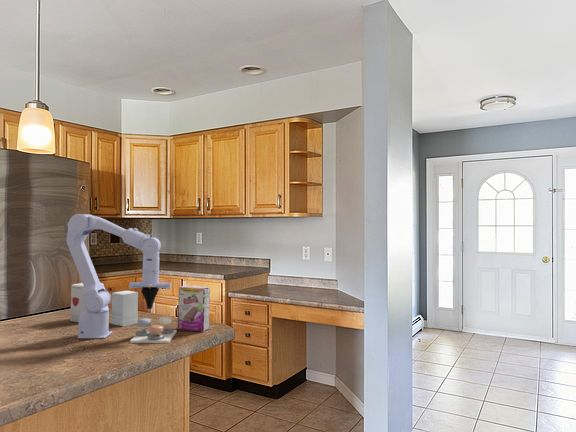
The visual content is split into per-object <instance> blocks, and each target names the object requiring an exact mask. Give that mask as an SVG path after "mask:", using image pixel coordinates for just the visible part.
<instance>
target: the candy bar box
mask: <svg viewBox="0 0 576 432" xmlns="http://www.w3.org/2000/svg"><path fill="white" fill-rule="evenodd" d="M210 294H211V287H210V286H209V287H208V286H198V285H188V284H187V285H182V286H179V287H178V307H177V308H178V312H177V313H178V316H177V330H184V331H193V332H194V331H195V332H202V333H203V332H206V331H208V330H210V304H211V303H210V301H211V300H210V299H211V298H210Z"/></svg>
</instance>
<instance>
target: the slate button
mask: <svg viewBox="0 0 576 432" xmlns="http://www.w3.org/2000/svg"><path fill="white" fill-rule="evenodd" d="M151 324H152V319H151V318H146V317H145V318H138V320H137V323H136V325H137V327H138V328H145V327H146V328H147V327H150V326H152V325H151Z"/></svg>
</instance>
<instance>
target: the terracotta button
mask: <svg viewBox="0 0 576 432" xmlns="http://www.w3.org/2000/svg"><path fill="white" fill-rule="evenodd" d="M148 327H149V329H148V330H149V333H150V334H160V333H163V328H164V325H160V324H152V325H150V326H148Z"/></svg>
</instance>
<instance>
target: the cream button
mask: <svg viewBox="0 0 576 432" xmlns="http://www.w3.org/2000/svg"><path fill="white" fill-rule="evenodd" d="M158 320H159V321H158V323H159V324H158V325H162V326H169V325H172V324H173V316H160V317H159V318H158Z"/></svg>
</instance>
